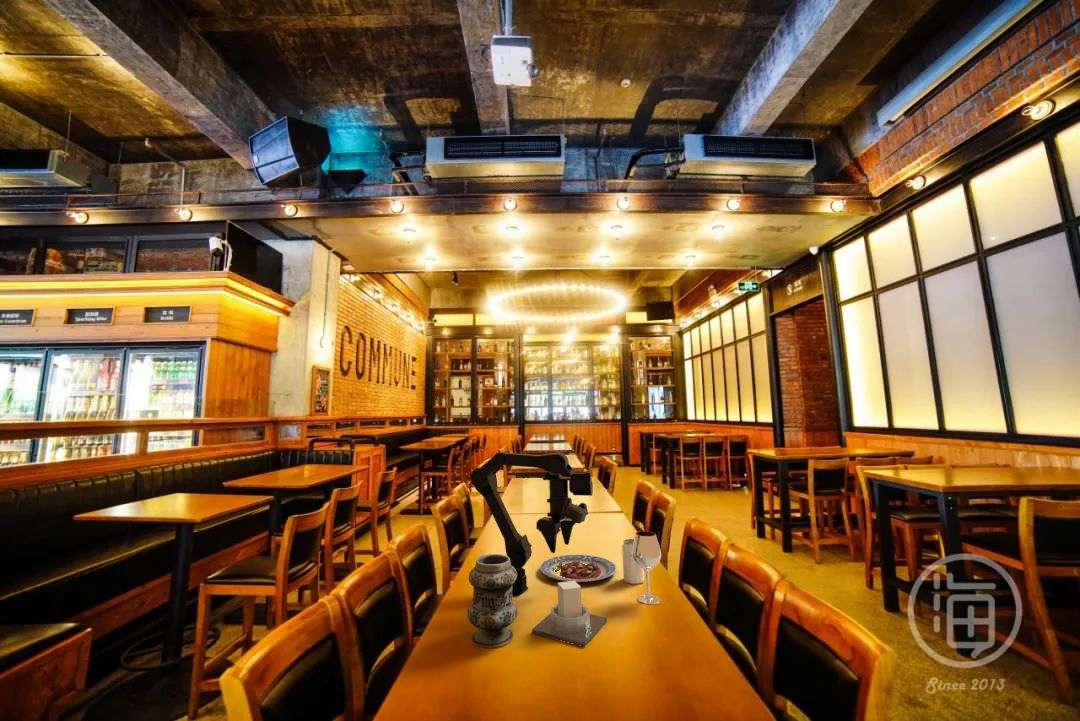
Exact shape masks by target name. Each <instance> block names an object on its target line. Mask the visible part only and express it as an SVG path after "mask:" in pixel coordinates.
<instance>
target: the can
mask: <svg viewBox="0 0 1080 721" xmlns="http://www.w3.org/2000/svg"><path fill="white" fill-rule="evenodd" d="M633 543H634V538H628V539H627V538H626V539H624V540H623V544H622V548H621V549H622V568H623V569H622V570H623V571H622V572H623V580H624V582H626V583H627V584H630V585H641V584H643V583H644V582H645V571H644V570H643V569H642V568H641V567H640V566H639V565H638V564H637V563H636V562H635V560H634V558H633V555H632V549H633Z"/></svg>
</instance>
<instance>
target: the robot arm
mask: <svg viewBox="0 0 1080 721" xmlns="http://www.w3.org/2000/svg"><path fill="white" fill-rule="evenodd" d="M504 466H512V467H522V468H523V467H525V468H536V469H540V470H543V471H546V474H545V475H544V476H543V477H542V480H543V481H549V482H548V483H549V485H548V486H549V487H548V488H549V498H547V499H546V503H549V512H547V515H546V516H544V517H541V518H538V520H537V521H536V527H535V528H536V530H538V532H540V533H541V535H542V536H543V538H544V541H545V543H546V544H547V547H548V549H549V550H550V553H551V554H555V553H556V548H557V547H556V546H557V536H558V534H559V533H560V532H561V535H562V539H563V543H564V544H565V545H567V546H568V545H569V544H570V541H571V537H572V532H573V528H574V527H575V525H576V524H577V525H578V524H581V523H582V522H583V523H584V522H585V519H586V517H587V516H588V515H589V510H588V505H587V503H585V502H580V503H579V504H577V503H576V504H574V503H573V502H572V501H573V499H572V497H569V492H570V494H572V495H573V496H585V497H586V496H588V497H591V496H593V493H594V492H593V491H594V485H593V484H594V483H593V479H592V478H593V477H592V473H591V471H589V472H588V471H586V472H576V471H575V470H574V468H573V467H572V466H571V465H570V463H569V458H568V456H567V455H566V454H565V453H563V452H552V453H544V454H529V453H515V452H513V453H512V452H506V451H500V452H499V451H498V452H497V453H495V454H494V455H493V456H492V457H491V458H490V459H489V460H488V461H486V462H485V463H484V464H482V466H480V467H477V468H474V469H473V470H472V471H471V473H470V477H469V479H470V483H471V484H472V486H473V487H474V489H475V490H476V492H478V493H479V494H480V495H481V496H482V497H483V498H484V500H485V502H486V504H487V506H488V509H489V510H490V512H491V515H492V517H493V518H494V521H495V522H496V523H495V524H496V525H497V528H498V529H499V531H500V533H501V536H502V538H503V540H504V550H505V555H506V556H508V557H509V558H510V563H511V565H512V566H513V567H514V568H515V570H516V572H517V579H516V581H515V582H514V583H513V584H512V596H513V597H514V596H515V597H518V596H520V595H522V594H523V593H525V592H526V591H527V590H529V586H528V585H527V582H528V581H527V575H526V569H525V568H524V567H525V565H526V563H527V562H529V560H530V559H531V556H532V546H533V545H532V544H531V543H530V541H529V539H528V536H527V534H524V535H522V534H520V533H519V532H518V530H517V528H516V526H515V524H514V522H513V520H512V518H511V516H510V514H509V512H508V510H507V508H506V505H505V504H504V502H503V499H502V497H501V495H500V493H499V491H498V483H497V478H496V476H495V475H496V474H497V473H498V472H499V471H500V470H501V469H502V468H503V467H504Z"/></svg>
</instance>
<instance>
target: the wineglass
mask: <svg viewBox="0 0 1080 721" xmlns="http://www.w3.org/2000/svg"><path fill="white" fill-rule="evenodd" d="M634 534H635V535H634V538H633V539H634V543H633V549H632V555H633V558H634V560H635V562H636V563H637V564H638V565H639V566H640V567H641V568H642V569H643V570H644V573H645V575H646V576H645V577H646V593H645V594H640V595H638V596H637V601H638V602H640V603H642V604H645V605H657V604H659V603H661V598H660V597H659V596H657V595H654V594H651V588H650V585H651V584H650V572H651V571H652V570H653V569H654V568H655V567H656V566H657V565H658V564H659V563H660V561H661V559H662V550H661V548H660V542H659V541H658V538H657V534H656V533H655V532H652V531H647V530H646V531H645V530H641V531H636V532H635V533H634Z"/></svg>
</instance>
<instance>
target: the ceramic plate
mask: <svg viewBox="0 0 1080 721" xmlns="http://www.w3.org/2000/svg"><path fill="white" fill-rule="evenodd" d="M583 563H584V564H583ZM564 564H565V565H564ZM585 564H587V565H585ZM562 565H563V566H562ZM556 567H557V569H556ZM539 568H540V571H541V573H543V575H545V576H547V577H549V578H550V579H554V580H558V581H562V582H568V581H575V582H576V583H588V581H589V582H595V581H601V580H604V579H607V578H609V577H611V576H613V575H614V574H615V573H616V572H617V565H616V564H615V563H614V562H613V561H611V560H609V559H607V558H606V557H601V556H597V555H590V554H589V555H587V554H565V555H558V556H555V557H551V558H548V559H547V560H545V561H543V562H542V563H541V564H540V566H539ZM555 569H556V570H555ZM560 569H561V572H560V576H562V577H559V576H557V575H556V574H554V570H555V572H557V571H559V570H560ZM563 577H565V578H563Z"/></svg>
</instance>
